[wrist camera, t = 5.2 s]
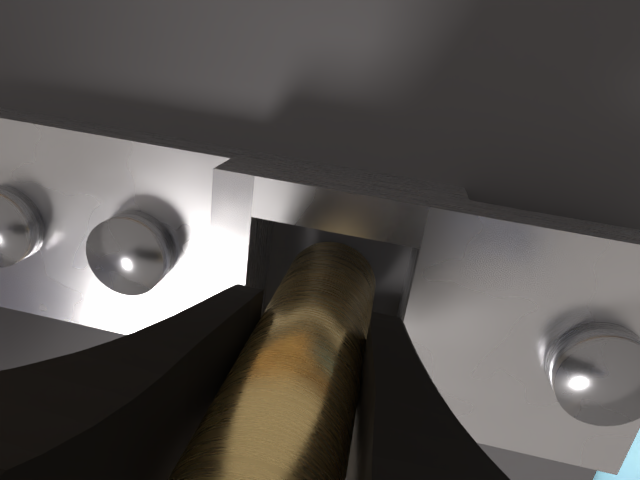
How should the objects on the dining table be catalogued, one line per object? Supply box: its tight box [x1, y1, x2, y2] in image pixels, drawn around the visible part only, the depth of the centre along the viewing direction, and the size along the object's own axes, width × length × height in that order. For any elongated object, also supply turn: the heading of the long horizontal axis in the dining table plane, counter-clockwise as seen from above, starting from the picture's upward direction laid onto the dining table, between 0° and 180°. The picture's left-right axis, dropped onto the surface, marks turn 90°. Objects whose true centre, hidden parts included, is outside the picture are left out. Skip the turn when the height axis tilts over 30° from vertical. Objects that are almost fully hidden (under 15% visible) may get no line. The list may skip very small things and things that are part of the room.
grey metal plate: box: [0, 108, 640, 475], centre depth 13 cm, size 19×6×3 cm, turn 82°
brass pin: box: [168, 242, 376, 480], centre depth 10 cm, size 2×2×8 cm
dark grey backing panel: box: [0, 0, 640, 480], centre depth 15 cm, size 22×16×1 cm
